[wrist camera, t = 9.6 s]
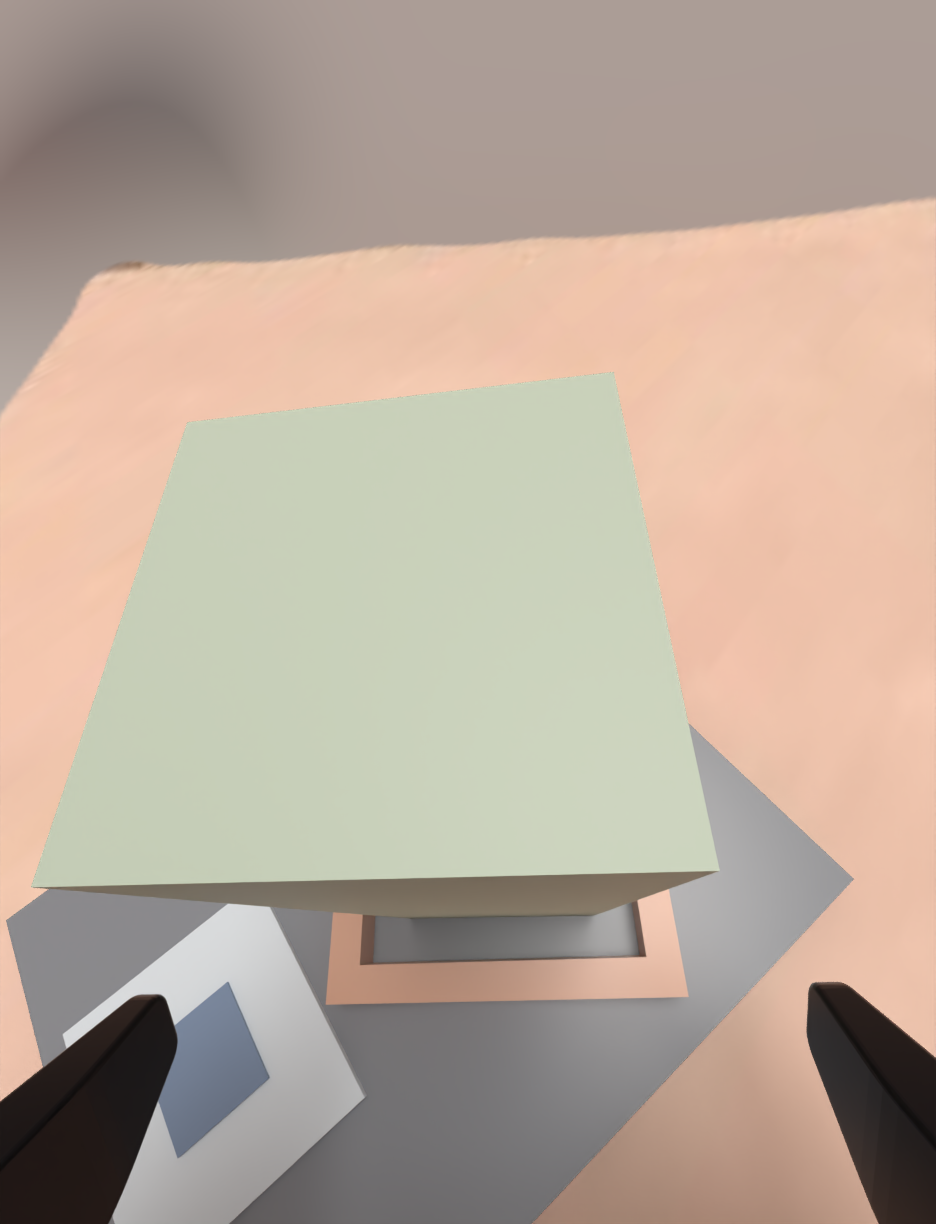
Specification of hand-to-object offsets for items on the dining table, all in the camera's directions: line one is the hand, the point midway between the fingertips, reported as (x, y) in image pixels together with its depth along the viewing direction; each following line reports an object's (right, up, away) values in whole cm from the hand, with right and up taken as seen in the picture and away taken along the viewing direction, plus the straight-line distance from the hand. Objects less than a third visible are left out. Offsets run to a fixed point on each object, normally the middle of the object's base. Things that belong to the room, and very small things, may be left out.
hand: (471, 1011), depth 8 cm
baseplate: (-2, -3, +9) cm, 10 cm away
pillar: (+1, -1, +9) cm, 9 cm away
